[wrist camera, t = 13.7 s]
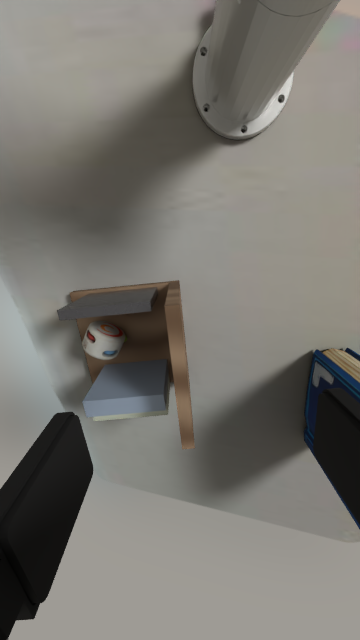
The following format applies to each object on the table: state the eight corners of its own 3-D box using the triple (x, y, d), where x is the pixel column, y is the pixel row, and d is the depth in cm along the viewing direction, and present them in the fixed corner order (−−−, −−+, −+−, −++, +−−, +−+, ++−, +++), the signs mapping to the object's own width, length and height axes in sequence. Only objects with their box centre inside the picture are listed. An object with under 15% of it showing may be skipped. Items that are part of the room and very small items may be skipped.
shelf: (73, 291, 38) (2, 322, 22) (179, 280, 37) (179, 304, 22) (96, 384, 43) (52, 460, 28) (188, 376, 43) (194, 448, 28)
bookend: (88, 293, 36) (57, 310, 27) (157, 286, 36) (149, 301, 27) (90, 300, 37) (59, 320, 27) (158, 294, 36) (151, 311, 27)
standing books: (104, 364, 40) (82, 401, 31) (166, 358, 40) (163, 394, 31) (110, 387, 42) (90, 429, 32) (169, 382, 41) (167, 422, 32)
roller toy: (121, 352, 40) (112, 369, 34) (86, 337, 39) (71, 352, 33) (131, 330, 38) (123, 344, 33) (95, 314, 37) (81, 326, 32)
